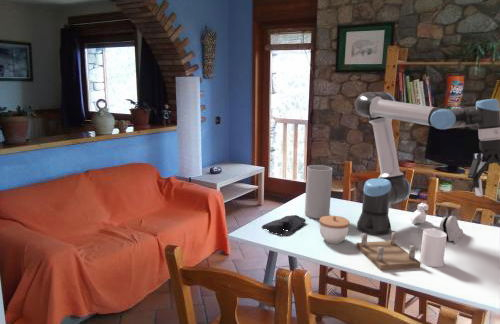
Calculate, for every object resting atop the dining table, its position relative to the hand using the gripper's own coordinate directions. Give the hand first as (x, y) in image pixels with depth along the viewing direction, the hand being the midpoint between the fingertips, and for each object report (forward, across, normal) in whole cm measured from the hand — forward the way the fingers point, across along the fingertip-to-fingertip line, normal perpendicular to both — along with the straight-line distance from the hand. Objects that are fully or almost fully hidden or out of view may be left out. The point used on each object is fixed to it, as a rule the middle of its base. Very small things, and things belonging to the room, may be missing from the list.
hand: (494, 193), depth 148 cm
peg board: (+20, -43, +8) cm, 49 cm away
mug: (+23, -28, +3) cm, 36 cm away
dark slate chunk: (+12, -74, +44) cm, 87 cm away
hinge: (+22, -3, +24) cm, 33 cm away
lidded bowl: (+16, -58, +26) cm, 65 cm away
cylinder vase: (+11, -54, +57) cm, 79 cm away
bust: (+18, -7, +41) cm, 46 cm away
